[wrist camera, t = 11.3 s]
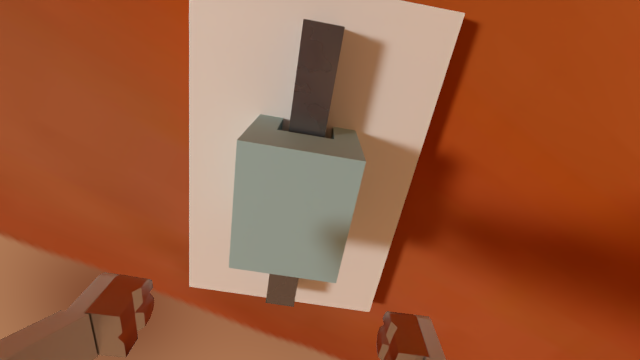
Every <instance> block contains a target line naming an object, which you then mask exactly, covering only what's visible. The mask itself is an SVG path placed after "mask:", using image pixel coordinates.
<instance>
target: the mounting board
mask: <svg viewBox="0 0 640 360" xmlns="http://www.w3.org/2000/svg"><path fill="white" fill-rule="evenodd" d="M464 15H465V13H462V12H457V11H451V10H446V9H441V8H436V7H431V6H426V5H421V4H416V3H411V2H406V1H401V0H189V287H196V288H203V289H210V290H217V291H224V292H232V293H239V294H246V295H253V296H260V297H266V296H267V289H268V281H269V274H268V273H261V272H254V271H247V270H241V269H234V268H229V256H230V240H231V225H232V209H233V193H234V178H235V162H236V146H237V139H238V138H239V137H240V136H241V135H242V134H243V133H244V132H245V130H246V129H247V128H248V127H249V126H250V125H251V124H252V123H253V122H254V120H255V119H256V118H257V117H258V116H259V115H260V114H263V115H269V116H274V117H280V118H283V125H282V131H289V124H290V116H291V109H292V101H293V94H294V86H295V79H296V71H297V64H298V56H299V49H300V41H301V34H302V26H303V19H308V20H313V21H318V22H323V23H328V24H334V25H339V26H344V27H345V29H344V35H343V40H342V45H341V51H340V56H339V62H338V67H337V73H336V78H335V84H334V89H333V94H332V100H331V105H330V111H329V116H328V122H327V127H326V133H325V138H329V139H331V135H332V130H333V127H338V128H344V129H350V130H355V131H356V133H357V136H358V139H359V142H360V145H361V148H362V151H363V154H364V157H365V160H366V164H365V168H364V172H363V176H362V180H361V184H360V189H359V193H358V197H357V201H356V205H355V209H354V213H353V217H352V221H351V225H350V229H349V233H348V237H347V241H346V245H345V249H344V253H343V257H342V261H341V265H340V269H339V273H338V277H337V281H336V283H330V282H323V281H317V280H310V279H303V278H299V279H298V285H297V290H296V296H295V302H302V303H309V304H317V305H324V306H331V307H338V308H345V309H352V310H359V311H366V312H369V311H370V308H371V305H372V302H373V299H374V296H375V293H376V290H377V286H378V283H379V280H380V277H381V274H382V271H383V268H384V265H385V261H386V258H387V255H388V252H389V249H390V246H391V243H392V240H393V237H394V233H395V230H396V227H397V224H398V221H399V218H400V215H401V212H402V209H403V205H404V202H405V199H406V196H407V193H408V190H409V187H410V184H411V180H412V177H413V174H414V171H415V168H416V165H417V162H418V159H419V156H420V152H421V149H422V146H423V143H424V140H425V137H426V134H427V131H428V128H429V124H430V121H431V118H432V115H433V112H434V109H435V106H436V103H437V99H438V96H439V93H440V90H441V87H442V84H443V81H444V78H445V75H446V71H447V68H448V65H449V62H450V59H451V56H452V53H453V50H454V47H455V43H456V40H457V37H458V34H459V31H460V28H461V25H462V22H463V18H464Z"/></svg>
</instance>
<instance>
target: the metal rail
mask: <svg viewBox="0 0 640 360" xmlns="http://www.w3.org/2000/svg"><path fill="white" fill-rule="evenodd" d="M344 29H345V27H344V26H339V25H334V24H328V23H323V22H318V21H313V20H308V19H303V26H302V34H301V41H300V49H299V56H298V64H297V71H296V79H295V86H294V94H293V101H292V109H291V116H290V124H289V131H288V132H294V133H300V134H306V135H312V136H317V137H323V138H325V133H326V127H327V122H328V116H329V111H330V105H331V100H332V94H333V89H334V84H335V78H336V73H337V67H338V62H339V56H340V51H341V45H342V40H343V35H344ZM298 279H299V278H296V277H289V276H282V275H275V274H269V281H268V289H267V296H266V303H271V304H278V305H286V306H293V307H294V301H295V296H296V290H297V285H298Z"/></svg>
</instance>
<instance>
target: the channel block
mask: <svg viewBox="0 0 640 360" xmlns="http://www.w3.org/2000/svg"><path fill="white" fill-rule="evenodd" d="M282 125H283V118H280V117H274V116H269V115H263V114H260V115H259V116H258V117H257V118H256V119H255V120H254V122H253V123H252V124H251V125H250V126H249V127H248V128H247V129H246V130H245V132H244V133H243V134H242V135H241V136H240V137H239V138H238V139H237V146H236V162H235V178H234V193H233V209H232V225H231V240H230V256H229V268H234V269H241V270H247V271H254V272H261V273H268V274H275V275H282V276H289V277H296V278H303V279H310V280H317V281H323V282H330V283H336V281H337V277H338V273H339V269H340V265H341V261H342V257H343V253H344V249H345V245H346V241H347V237H348V233H349V229H350V225H351V221H352V217H353V213H354V209H355V205H356V201H357V197H358V193H359V189H360V184H361V180H362V176H363V172H364V168H365V164H366V160H365V157H364V154H363V151H362V148H361V145H360V142H359V139H358V136H357V133H356V131H355V130H350V129H344V128H338V127H333V130H332V135H331V139H329V138H323V137H317V136H312V135H306V134H300V133H294V132H288V131H282Z"/></svg>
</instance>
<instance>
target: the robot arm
mask: <svg viewBox="0 0 640 360" xmlns="http://www.w3.org/2000/svg"><path fill="white" fill-rule="evenodd" d="M152 288H153V284H152V280H150V279H146V278H139V277H133V276H127V275H121V274H113V273H107V272H104V273H102V274H100V275H99V276H98V277H97V278H96V279H95V280H94V281H93V282H92V283H91V284H90V286H89V287H88V288H87V289H86V290H85V291H84V292H83V293H82V294H81V295H80V296H79V297H78V298H77V299H76V300H75V302H74V303H73V304H72V305H71V306H70V307H69V308H68V309H67V310H66V311H61V310H60V311H58V312H57V313H54V314H53V315H50V316H48V317H46V318H44V319H42V320H40V321H38V322H36V323H34V324H32V325H30V326H27V327H26V328H23V329H21V330H19V331H17V332H15V333H13V334H11V335H9V336H7V337H5V338H3V339H1V340H0V360H94V359H95V358H96V357H97V356H98V355H106V356H117V357H127V355H128V354H129V352H130V350H131V349H132V347H133V345H134V344H135V342H136V341H137V339H138V335H137V331H138V330H140V329H142V328H143V327H145V326H146V324H147V322H148V321H149V319H150V317H151V314H152V311H153V307H154V297H153V296H152V295H151V294H150V291H151V290H152ZM383 322H384V325H383V326H381V327H380V328H379V331H378V334H377V353H378V357H379V358H380V359H381V360H446V358H445V356H444V353H443V350H442V348H441V345H440V342H439V340H438V337H437V334H436V332H435V329H434V326H433V324H432V321H431V319H430V318H429V317H428V316H420V315H413V314H405V313H397V312H389V311H387V312H386V313H385V314H384V317H383Z"/></svg>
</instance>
